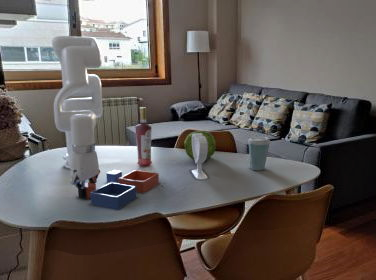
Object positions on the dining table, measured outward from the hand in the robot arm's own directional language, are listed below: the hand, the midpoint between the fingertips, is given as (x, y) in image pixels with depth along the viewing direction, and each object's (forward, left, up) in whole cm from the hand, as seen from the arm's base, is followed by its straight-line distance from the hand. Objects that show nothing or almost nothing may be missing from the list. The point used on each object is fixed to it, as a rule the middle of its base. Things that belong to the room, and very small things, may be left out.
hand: (87, 194), depth 133 cm
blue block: (0, +16, 0) cm, 16 cm away
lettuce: (+18, +62, -1) cm, 65 cm away
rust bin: (+12, +16, 0) cm, 20 cm away
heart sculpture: (+28, +39, -1) cm, 48 cm away
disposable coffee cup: (+50, +58, -1) cm, 77 cm away
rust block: (0, 0, 0) cm, 0 cm away
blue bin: (+12, 0, 0) cm, 12 cm away
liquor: (-1, +40, -1) cm, 40 cm away
